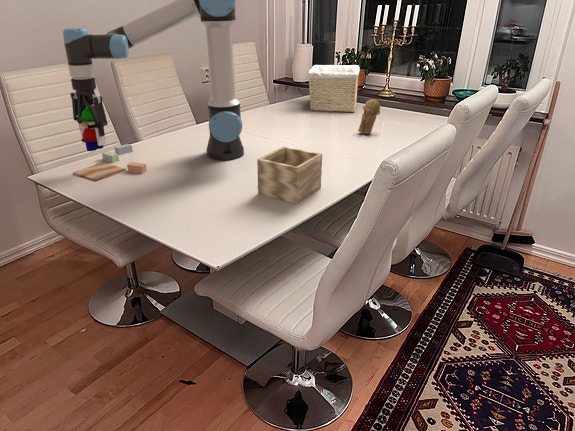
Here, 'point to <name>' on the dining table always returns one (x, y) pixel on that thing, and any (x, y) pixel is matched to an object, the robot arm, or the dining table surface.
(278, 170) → the birch crate
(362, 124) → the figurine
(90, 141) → the toy
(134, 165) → the terracotta brick
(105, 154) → the sage brick
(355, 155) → the dining table surface
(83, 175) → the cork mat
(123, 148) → the slate brick
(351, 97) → the basket
